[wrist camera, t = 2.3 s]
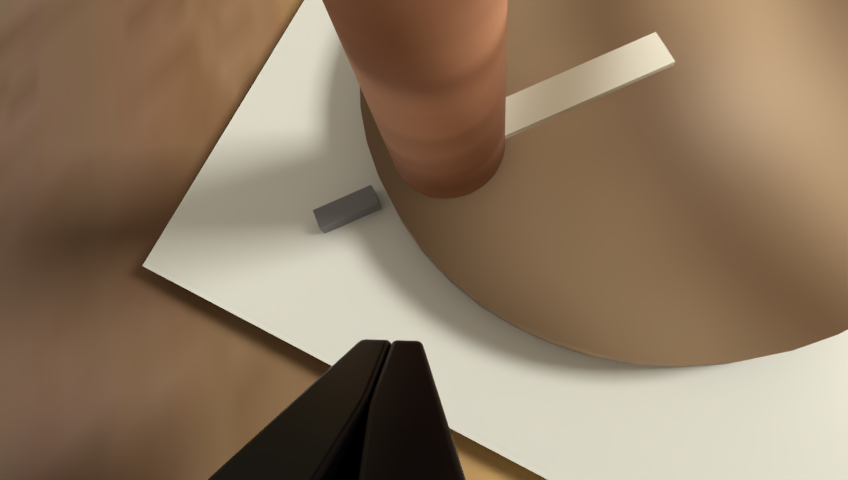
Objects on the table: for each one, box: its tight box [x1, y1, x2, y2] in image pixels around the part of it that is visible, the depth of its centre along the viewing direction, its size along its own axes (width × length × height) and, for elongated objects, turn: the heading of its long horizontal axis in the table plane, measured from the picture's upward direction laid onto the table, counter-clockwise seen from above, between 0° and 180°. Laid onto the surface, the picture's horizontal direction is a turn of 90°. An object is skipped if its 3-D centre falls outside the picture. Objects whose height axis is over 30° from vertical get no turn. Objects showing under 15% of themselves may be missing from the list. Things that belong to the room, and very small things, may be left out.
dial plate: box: [143, 0, 848, 480], centre depth 17 cm, size 22×22×1 cm
